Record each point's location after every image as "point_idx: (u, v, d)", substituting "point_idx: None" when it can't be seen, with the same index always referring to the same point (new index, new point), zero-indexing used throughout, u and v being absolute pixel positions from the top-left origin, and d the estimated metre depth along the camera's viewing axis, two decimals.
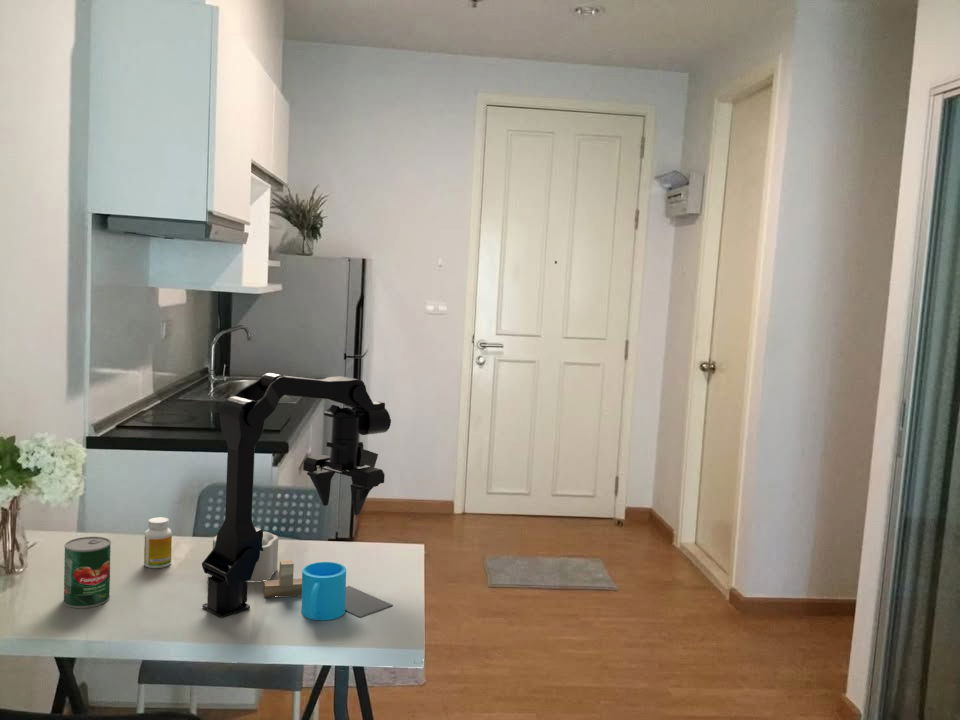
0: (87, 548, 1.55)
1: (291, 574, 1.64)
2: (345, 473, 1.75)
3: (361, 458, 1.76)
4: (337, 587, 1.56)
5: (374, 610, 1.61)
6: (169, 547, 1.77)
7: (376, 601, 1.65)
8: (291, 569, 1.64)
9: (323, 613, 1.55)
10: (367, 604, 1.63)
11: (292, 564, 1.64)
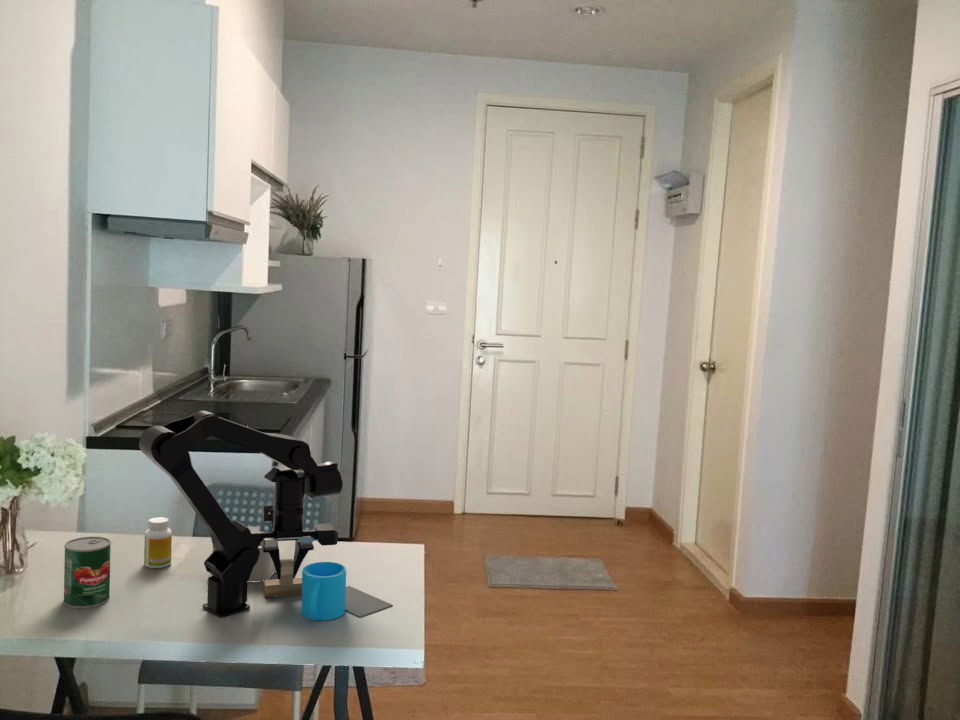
0: (87, 548, 1.55)
1: (291, 573, 1.64)
2: (293, 538, 1.65)
3: None
4: (337, 587, 1.56)
5: (374, 610, 1.61)
6: (169, 547, 1.77)
7: (376, 601, 1.65)
8: (291, 568, 1.64)
9: (323, 613, 1.55)
10: (367, 604, 1.63)
11: (292, 563, 1.64)
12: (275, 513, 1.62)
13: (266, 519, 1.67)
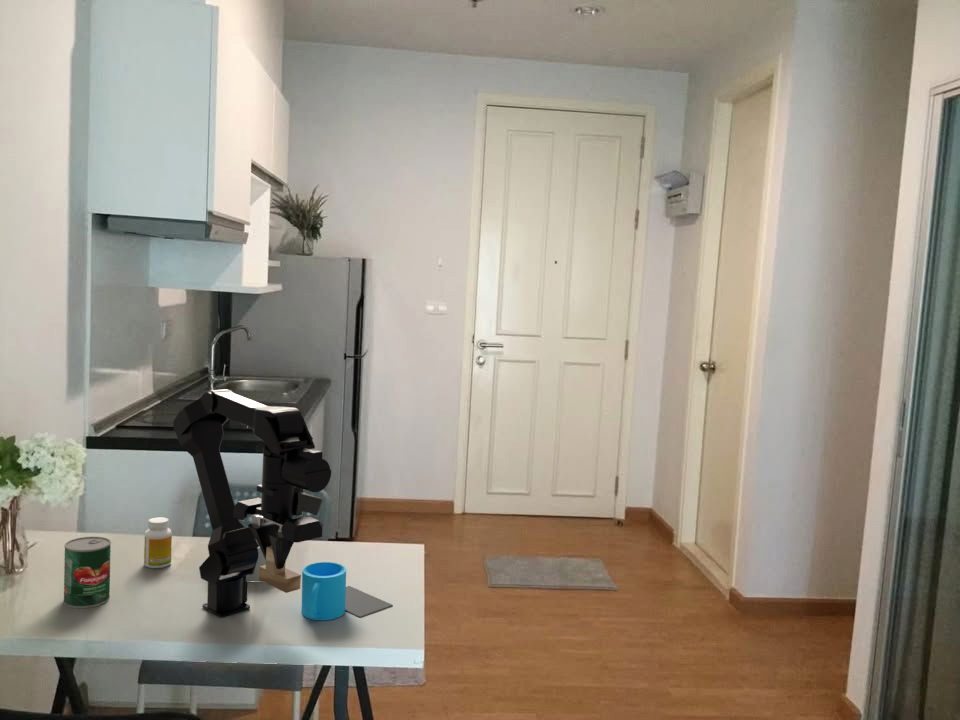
0: (87, 548, 1.55)
1: (273, 561, 1.47)
2: None
3: (298, 505, 1.47)
4: (337, 587, 1.56)
5: (374, 610, 1.61)
6: (169, 547, 1.77)
7: (376, 601, 1.65)
8: (273, 556, 1.47)
9: (323, 613, 1.55)
10: (367, 604, 1.63)
11: None
12: None
13: None
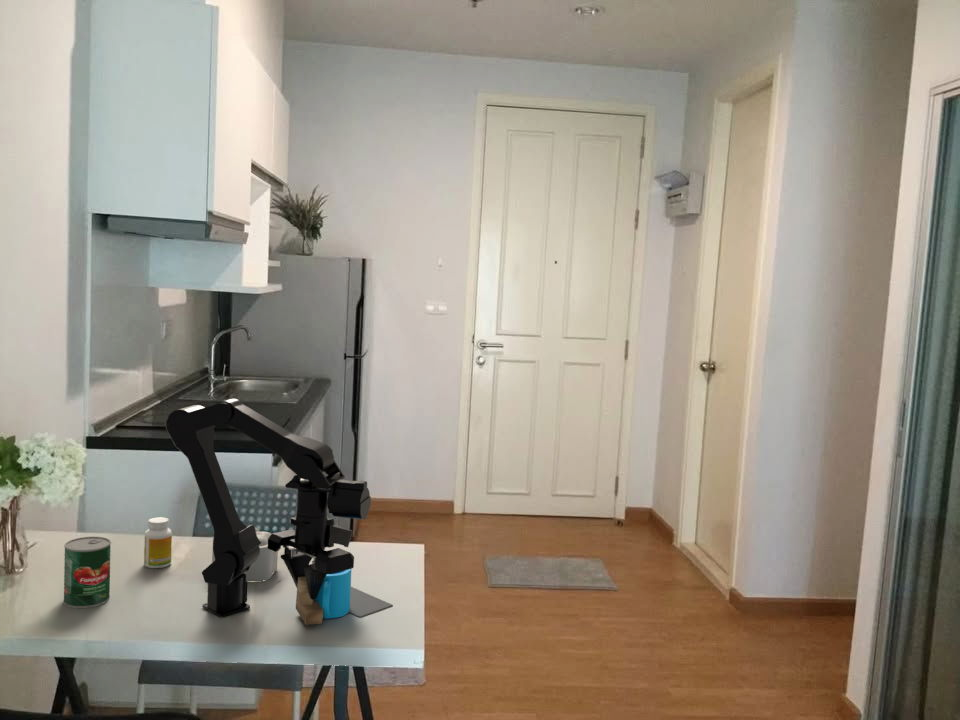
0: (87, 548, 1.55)
1: (299, 592, 1.52)
2: None
3: (330, 537, 1.53)
4: (345, 584, 1.57)
5: (374, 610, 1.61)
6: (169, 547, 1.77)
7: (376, 601, 1.65)
8: (300, 586, 1.52)
9: (332, 611, 1.56)
10: (367, 604, 1.63)
11: (301, 581, 1.52)
12: None
13: None
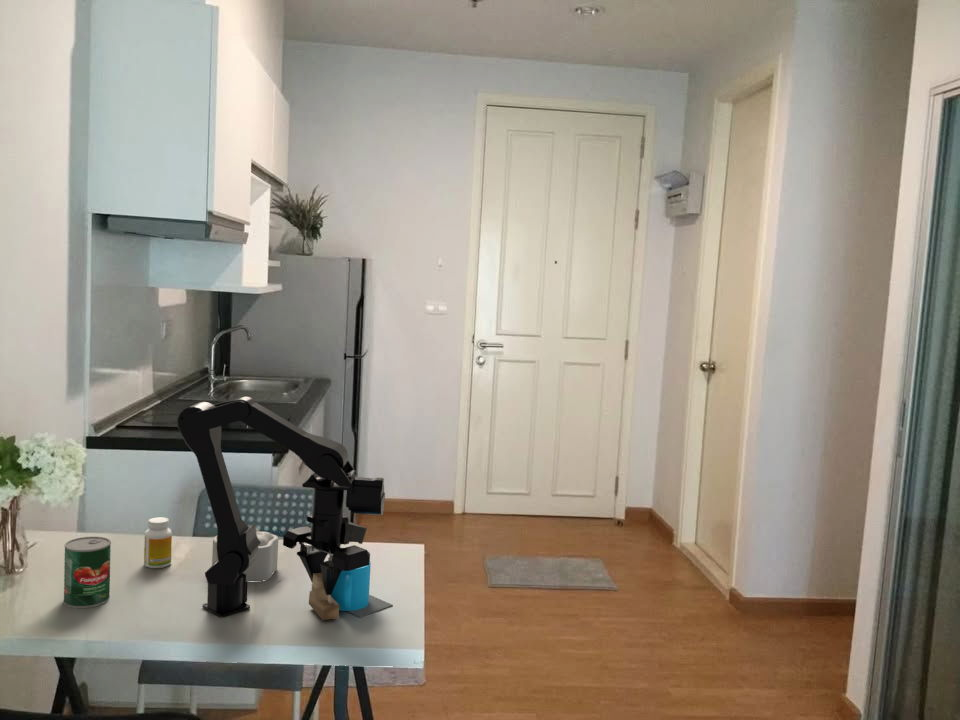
0: (87, 548, 1.55)
1: (315, 588, 1.56)
2: None
3: (345, 535, 1.56)
4: (365, 578, 1.61)
5: (374, 610, 1.61)
6: (169, 547, 1.77)
7: (376, 601, 1.65)
8: (316, 583, 1.55)
9: (353, 604, 1.60)
10: None
11: (317, 578, 1.55)
12: None
13: None
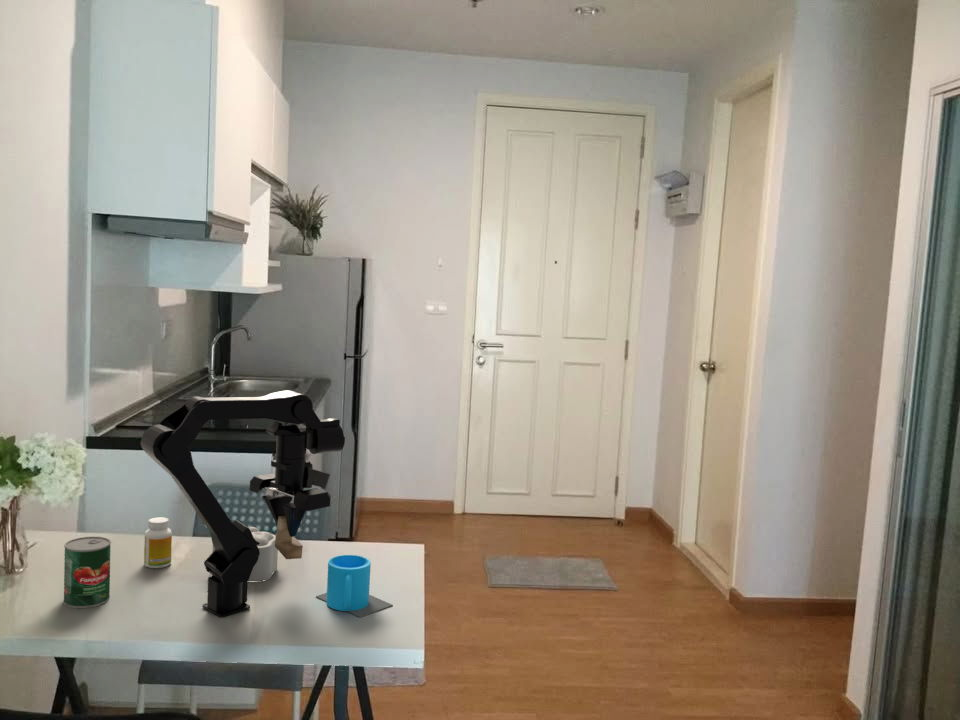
0: (87, 548, 1.55)
1: (280, 529, 1.63)
2: None
3: (308, 479, 1.63)
4: (365, 578, 1.61)
5: (374, 610, 1.61)
6: (169, 547, 1.77)
7: (376, 601, 1.65)
8: (280, 524, 1.63)
9: (353, 604, 1.60)
10: None
11: (281, 520, 1.62)
12: None
13: None
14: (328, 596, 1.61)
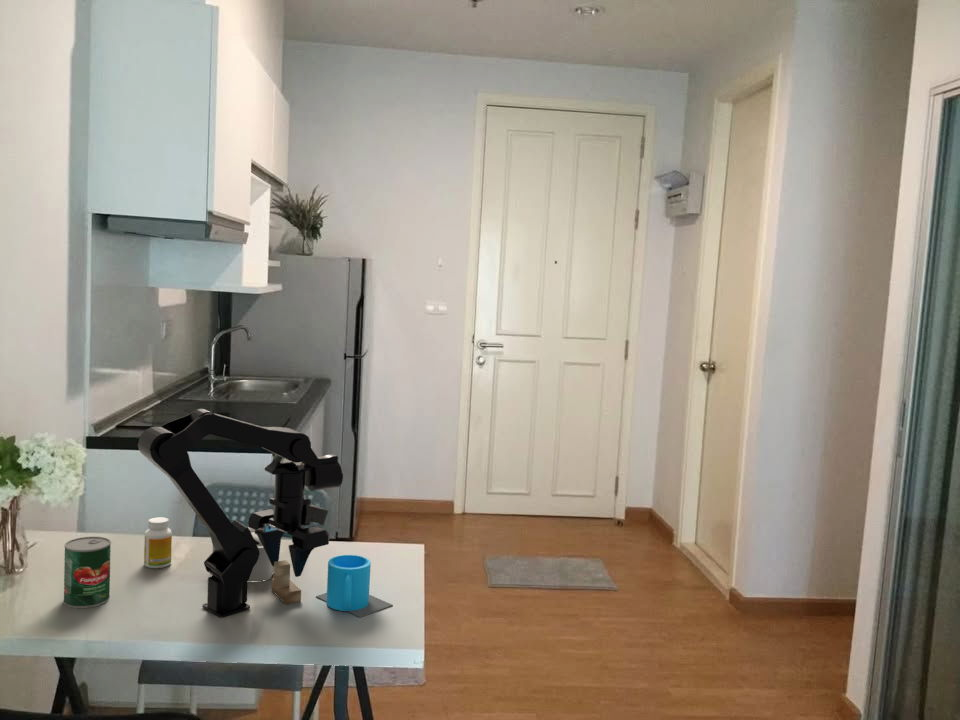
0: (87, 548, 1.55)
1: (277, 575, 1.63)
2: (289, 532, 1.63)
3: (307, 516, 1.64)
4: (365, 578, 1.61)
5: (374, 610, 1.61)
6: (169, 547, 1.77)
7: (376, 601, 1.65)
8: (277, 570, 1.63)
9: (353, 604, 1.60)
10: None
11: (278, 566, 1.63)
12: None
13: None
14: (328, 596, 1.61)
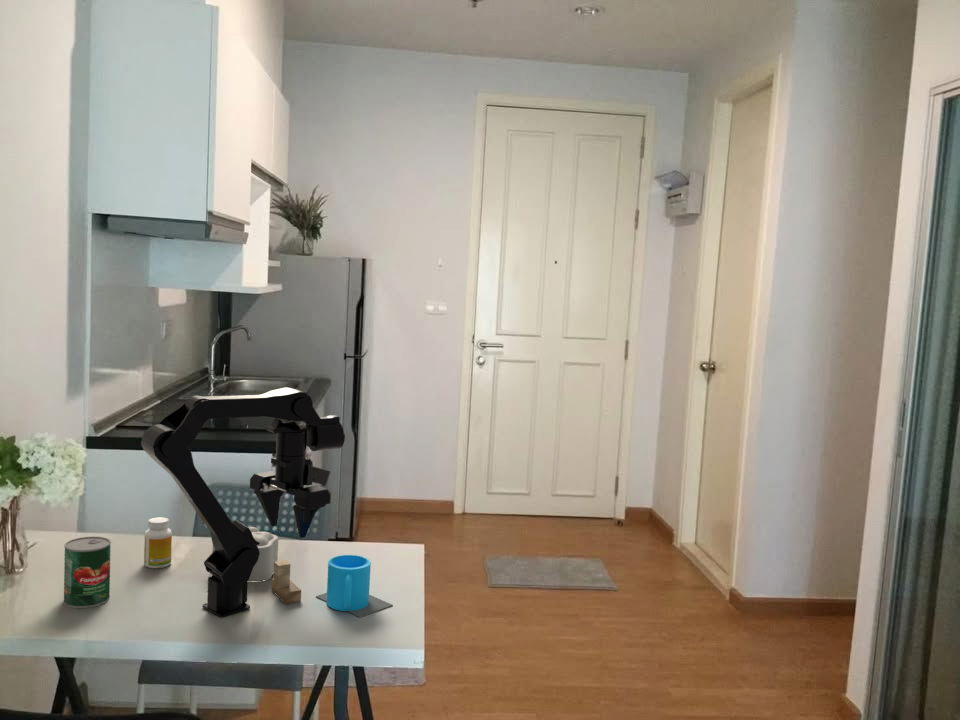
0: (87, 548, 1.55)
1: (277, 575, 1.63)
2: (291, 492, 1.63)
3: (308, 476, 1.63)
4: (365, 578, 1.61)
5: (374, 610, 1.61)
6: (169, 547, 1.77)
7: (376, 601, 1.65)
8: (277, 570, 1.63)
9: (353, 604, 1.60)
10: None
11: (278, 566, 1.63)
12: None
13: None
14: (328, 596, 1.61)
